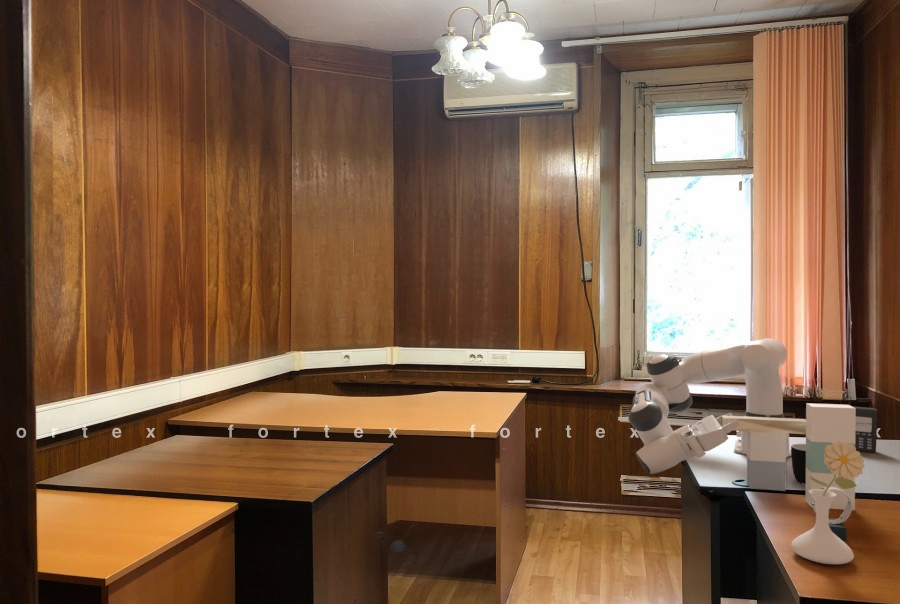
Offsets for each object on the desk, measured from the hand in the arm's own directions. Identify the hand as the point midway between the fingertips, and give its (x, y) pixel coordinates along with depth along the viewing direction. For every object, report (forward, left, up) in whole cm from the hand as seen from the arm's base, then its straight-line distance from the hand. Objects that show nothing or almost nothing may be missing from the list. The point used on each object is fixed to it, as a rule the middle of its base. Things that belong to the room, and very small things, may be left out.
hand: (735, 418), depth 184 cm
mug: (-10, +21, -19) cm, 30 cm away
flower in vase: (+49, +10, -19) cm, 54 cm away
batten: (0, +7, -3) cm, 8 cm away
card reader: (-52, +49, -19) cm, 73 cm away
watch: (+35, +15, -19) cm, 43 cm away
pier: (0, +8, -19) cm, 21 cm away
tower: (+13, +21, -19) cm, 31 cm away
